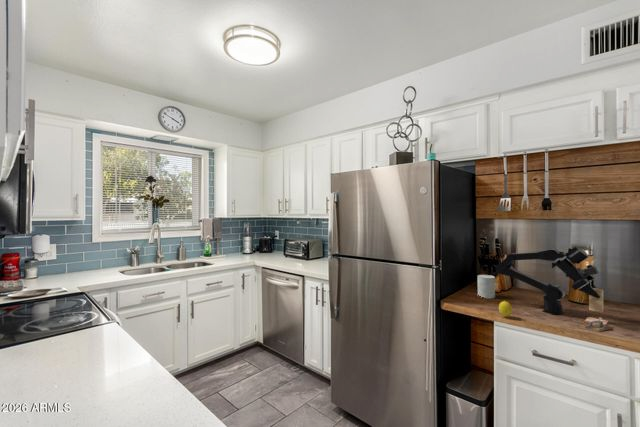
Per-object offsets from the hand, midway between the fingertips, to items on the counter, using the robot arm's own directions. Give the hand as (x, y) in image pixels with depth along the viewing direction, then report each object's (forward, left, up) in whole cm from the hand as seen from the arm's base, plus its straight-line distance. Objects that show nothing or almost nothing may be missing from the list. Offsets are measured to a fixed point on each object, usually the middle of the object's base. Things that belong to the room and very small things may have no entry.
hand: (600, 296), depth 139 cm
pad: (-1, 0, -12) cm, 12 cm away
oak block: (-1, 0, -7) cm, 7 cm away
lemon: (-22, -33, -12) cm, 42 cm away
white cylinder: (-52, -9, -12) cm, 54 cm away
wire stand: (+4, -9, -12) cm, 15 cm away
